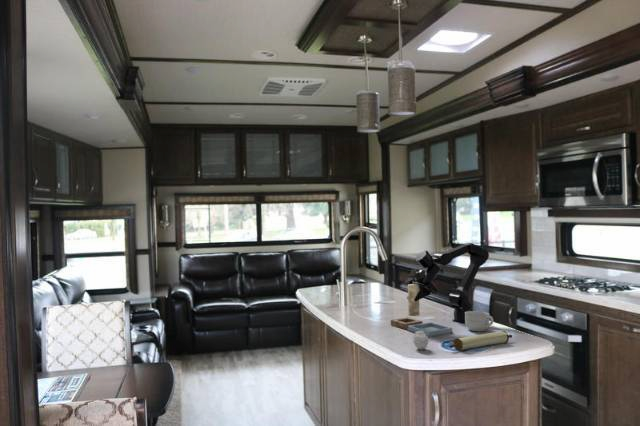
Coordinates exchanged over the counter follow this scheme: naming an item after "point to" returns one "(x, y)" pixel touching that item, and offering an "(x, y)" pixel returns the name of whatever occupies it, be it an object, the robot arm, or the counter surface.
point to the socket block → (405, 322)
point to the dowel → (413, 305)
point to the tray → (430, 329)
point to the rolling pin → (480, 340)
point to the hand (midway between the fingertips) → (411, 300)
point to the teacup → (477, 320)
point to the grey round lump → (420, 340)
